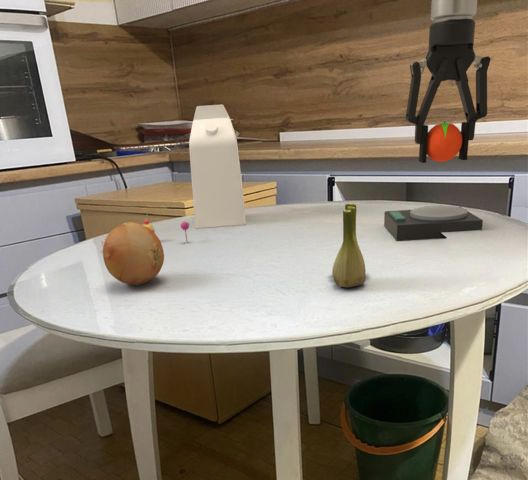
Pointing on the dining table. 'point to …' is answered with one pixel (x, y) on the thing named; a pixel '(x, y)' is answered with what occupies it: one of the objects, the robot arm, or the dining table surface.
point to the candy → (146, 223)
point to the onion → (133, 253)
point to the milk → (215, 169)
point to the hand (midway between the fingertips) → (442, 160)
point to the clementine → (443, 142)
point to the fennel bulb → (349, 253)
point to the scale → (430, 222)
